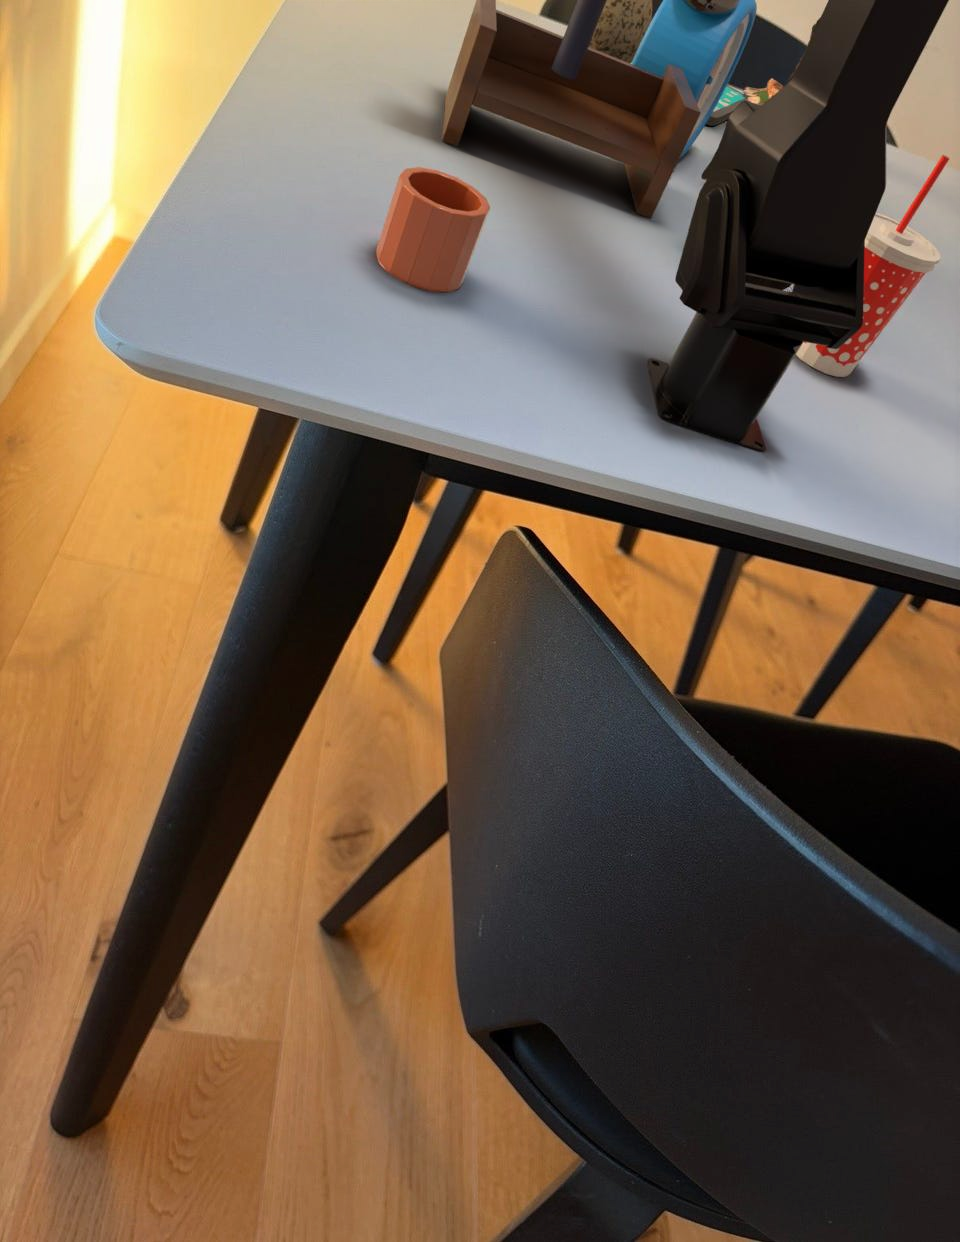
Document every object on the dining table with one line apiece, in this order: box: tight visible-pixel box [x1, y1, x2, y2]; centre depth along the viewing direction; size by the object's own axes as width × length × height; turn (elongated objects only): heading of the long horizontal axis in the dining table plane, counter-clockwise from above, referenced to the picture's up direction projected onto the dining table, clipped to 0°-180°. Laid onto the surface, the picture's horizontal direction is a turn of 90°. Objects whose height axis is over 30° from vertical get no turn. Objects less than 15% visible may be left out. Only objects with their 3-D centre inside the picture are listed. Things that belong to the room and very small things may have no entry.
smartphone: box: [705, 84, 751, 127], centre depth 112 cm, size 9×1×15 cm
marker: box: [552, 0, 607, 80], centre depth 74 cm, size 2×2×10 cm
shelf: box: [441, 0, 701, 219], centre depth 82 cm, size 10×16×8 cm, turn 90°
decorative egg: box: [588, 0, 653, 64], centre depth 103 cm, size 7×7×10 cm
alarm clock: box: [630, 0, 758, 158], centre depth 91 cm, size 13×6×15 cm, turn 156°
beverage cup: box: [795, 154, 950, 378], centre depth 70 cm, size 6×6×14 cm
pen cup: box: [375, 166, 491, 293], centre depth 61 cm, size 5×5×5 cm
